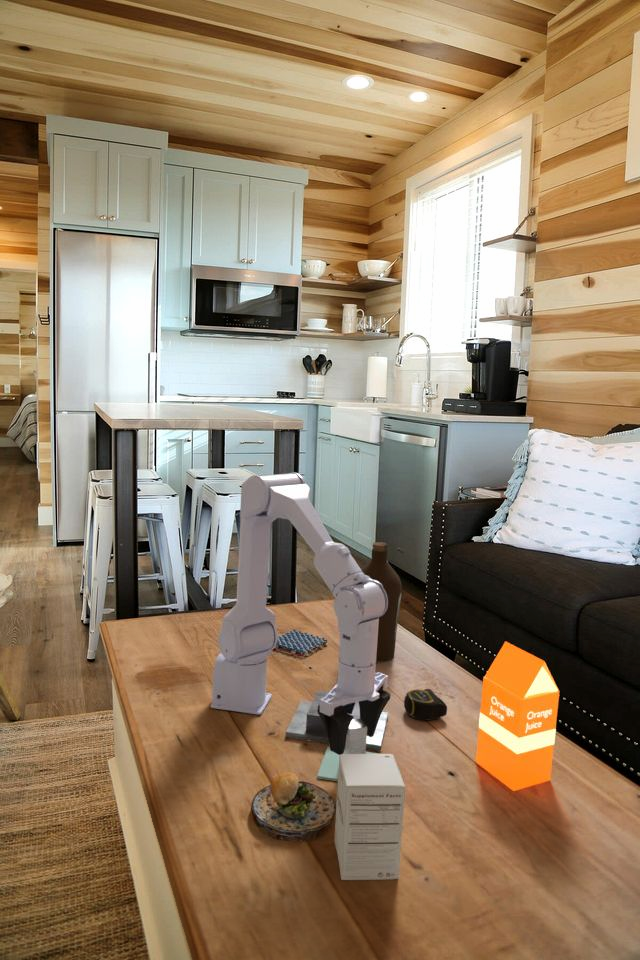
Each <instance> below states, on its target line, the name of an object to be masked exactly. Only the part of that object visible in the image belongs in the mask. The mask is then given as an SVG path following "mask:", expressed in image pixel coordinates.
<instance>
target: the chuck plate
mask: <svg viewBox="0 0 640 960" xmlns="http://www.w3.org/2000/svg"><path fill="white" fill-rule="evenodd" d="M329 692H330V691H328V690H327V691H326V690H320V689H319V690H317V691H316V692H315V695H314V697H313V700H312V701H307V700H300V702H299V704H298V707H297V708H296V711H295V712H294V714H293V717H292V718H291V721H290V722H289V724H288V726H287V728H286V730H285V738H286V737H291V738H290V739H293V738H297V739H296V740H300V739H303V740H302V741H307V740H310V741H309V742H314V741H316V742H315V743H320V742H322V744H327V743H328V745H329V740H328V736H327V732H326V729H325V726H324V724H323V721H322V719H321V717H320V716H319V714H318V712H317V711H318V705H320V700H321V699H323V698H324V697H326V696H327V695H328V693H329ZM343 710H345V713H347V714H349V715H352V716H353V717H354V718H353V719H360V708H359V702H354V703H350V704H347V705H345V706H343ZM388 716H389V712H388V711H382V713H381V715H380V718H379V721H378V724H377V727H376V730H375V733H374V735H373V737H369V736H367V739H366V750H369V751H376V752H381V749H382V745H383V741H384V737H385V732H386V728H387V722H388V718H389V717H388Z"/></svg>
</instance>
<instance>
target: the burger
mask: <svg viewBox="0 0 640 960" xmlns="http://www.w3.org/2000/svg"><path fill="white" fill-rule="evenodd" d="M275 770H276V773H277V776H276V777H275V778H274V779H273V780H272V782H271V784H269V785H267V786H265V787H263V788H261V789H260V790H259V791H257V792H256V794H255V795H254V797H253V798H252V800H251V807H250V819H251V822H252V824H253V825H254V827H255V828H256V829H257V830H258V831H259V832H260V833H262V834H263V835H264V836H266V837H269V838H271V839H272V840H273V839H275V840H277V841H285V842H287V841H288V842H291V841H293V842H294V841H297V842H298V841H299V842H300V841H301V842H309V841H313V840H315V838H316V836H317V833H319V830H322V829H323V828H324V827H326V826H329V824H330V823H331V821H332V819H333V817H335V816H336V802H335V798H333V796H332V795H330V794H329V793H328V792H327V791H326V790H325V789H323V788H322V787H319V786H317V785H316V784H314V783H311V782H307V781H304V780H301V781H299V778H298V776H297V774H296V773H293V772H283V773H279V772H278V769H277V767H275Z"/></svg>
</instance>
